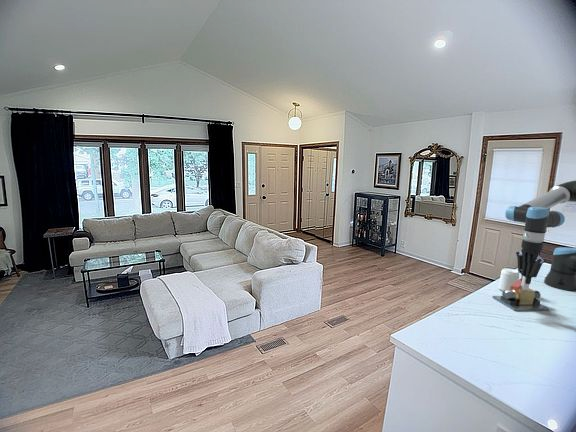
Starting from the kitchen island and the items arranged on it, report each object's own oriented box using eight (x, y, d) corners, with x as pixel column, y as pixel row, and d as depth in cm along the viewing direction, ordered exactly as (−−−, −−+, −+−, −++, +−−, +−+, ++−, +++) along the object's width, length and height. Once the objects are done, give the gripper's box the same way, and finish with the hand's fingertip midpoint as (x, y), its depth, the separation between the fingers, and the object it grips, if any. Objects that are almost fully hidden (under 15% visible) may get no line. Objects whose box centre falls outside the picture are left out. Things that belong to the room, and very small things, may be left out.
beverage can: (519, 294, 163) (523, 273, 161) (504, 293, 163) (508, 272, 161) (509, 288, 171) (512, 268, 169) (495, 287, 171) (498, 267, 169)
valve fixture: (524, 297, 159) (527, 280, 157) (548, 310, 145) (552, 292, 143) (492, 297, 157) (495, 280, 155) (514, 310, 143) (517, 292, 142)
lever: (520, 284, 151) (521, 277, 150) (526, 286, 149) (528, 279, 148) (509, 292, 140) (510, 285, 140) (516, 294, 138) (517, 287, 138)
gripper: (513, 237, 143) (505, 284, 147) (538, 244, 130) (529, 295, 134) (527, 237, 143) (519, 284, 147) (553, 244, 131) (544, 295, 135)
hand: (524, 289), depth 141 cm, fingers closed
